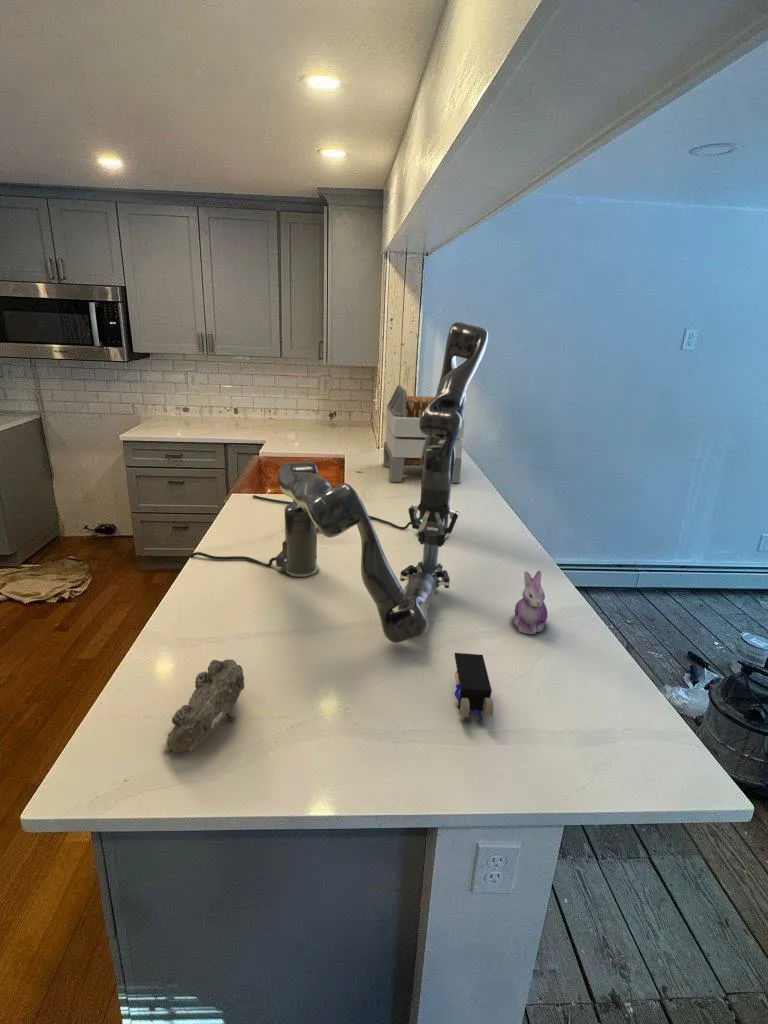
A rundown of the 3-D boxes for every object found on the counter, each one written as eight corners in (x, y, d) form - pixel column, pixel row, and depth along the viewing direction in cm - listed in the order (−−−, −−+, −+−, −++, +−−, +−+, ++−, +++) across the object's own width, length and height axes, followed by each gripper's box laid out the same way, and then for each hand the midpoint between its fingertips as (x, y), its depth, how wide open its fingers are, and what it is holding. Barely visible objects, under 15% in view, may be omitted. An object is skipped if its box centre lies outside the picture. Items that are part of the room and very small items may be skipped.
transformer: (382, 463, 289) (386, 382, 275) (445, 464, 293) (451, 384, 279) (390, 482, 257) (394, 392, 243) (460, 483, 261) (468, 394, 247)
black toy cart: (492, 733, 109) (479, 678, 122) (498, 704, 105) (484, 650, 119) (458, 733, 109) (448, 677, 122) (462, 703, 105) (452, 650, 119)
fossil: (192, 660, 117) (244, 628, 112) (224, 691, 120) (276, 661, 115) (142, 746, 98) (202, 712, 93) (182, 779, 101) (242, 748, 96)
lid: (422, 537, 157) (422, 529, 157) (438, 538, 158) (439, 530, 157) (423, 544, 153) (424, 535, 152) (440, 544, 153) (441, 536, 152)
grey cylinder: (419, 587, 162) (423, 531, 157) (434, 587, 163) (438, 531, 157) (420, 593, 158) (425, 537, 153) (435, 594, 159) (440, 537, 153)
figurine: (529, 639, 138) (537, 584, 133) (502, 619, 147) (509, 567, 142) (558, 631, 142) (567, 577, 137) (530, 612, 151) (538, 561, 146)
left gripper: (448, 583, 142) (457, 556, 158) (392, 574, 145) (407, 549, 161) (445, 609, 145) (454, 580, 161) (391, 600, 148) (405, 573, 164)
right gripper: (464, 484, 152) (458, 543, 157) (412, 478, 155) (408, 536, 161) (460, 492, 145) (454, 553, 151) (406, 485, 148) (402, 546, 154)
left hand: (430, 565), depth 161 cm, fingers closed on grey cylinder, 4 cm apart
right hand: (431, 544), depth 156 cm, fingers closed on lid, 4 cm apart
